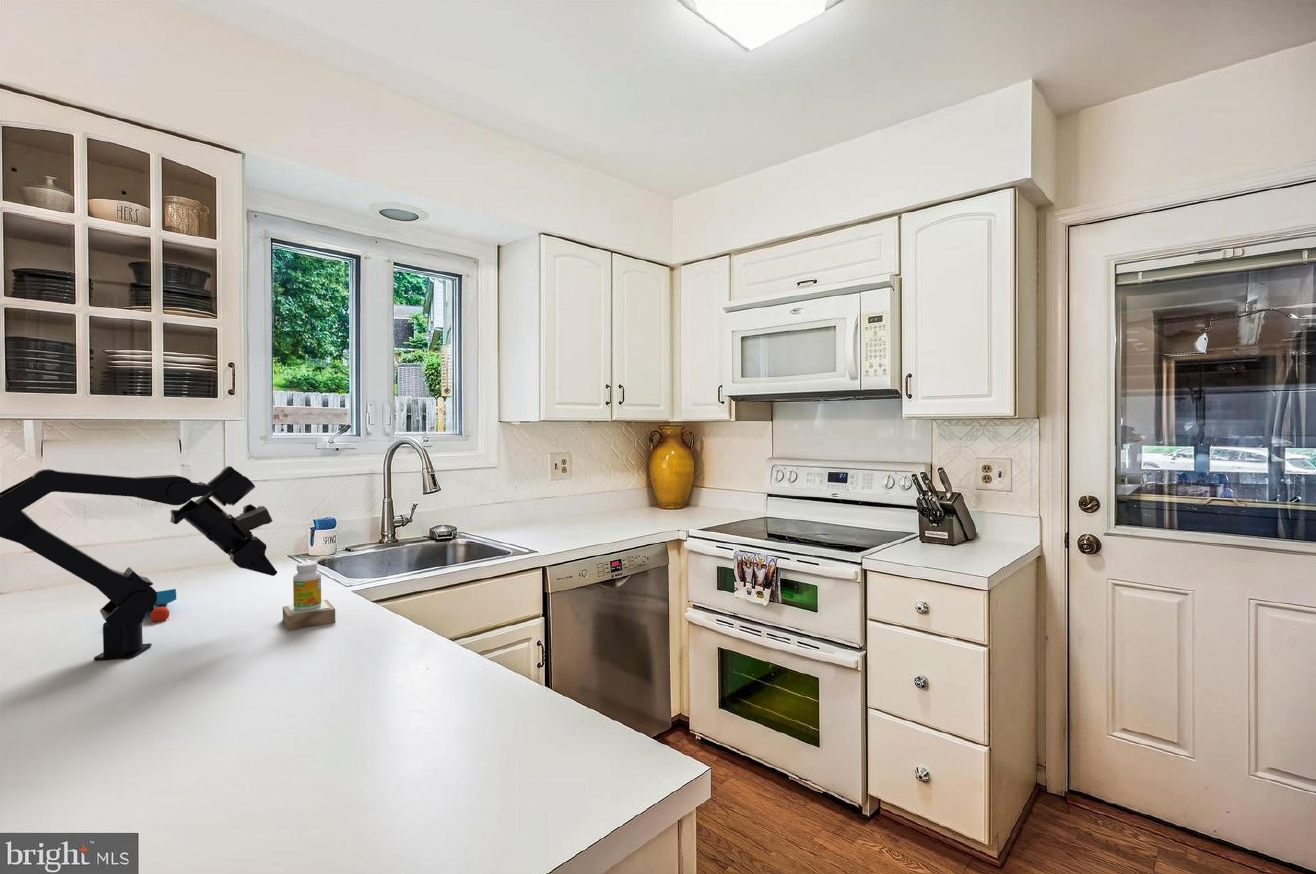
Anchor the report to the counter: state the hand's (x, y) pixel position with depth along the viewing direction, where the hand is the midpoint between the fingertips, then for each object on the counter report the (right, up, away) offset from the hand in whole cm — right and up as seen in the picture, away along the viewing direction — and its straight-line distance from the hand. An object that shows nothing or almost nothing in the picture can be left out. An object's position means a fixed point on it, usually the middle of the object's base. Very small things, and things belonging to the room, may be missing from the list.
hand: (270, 569), depth 138 cm
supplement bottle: (+8, -9, +1) cm, 12 cm away
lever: (-31, -12, +7) cm, 35 cm away
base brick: (+8, -12, +1) cm, 14 cm away
